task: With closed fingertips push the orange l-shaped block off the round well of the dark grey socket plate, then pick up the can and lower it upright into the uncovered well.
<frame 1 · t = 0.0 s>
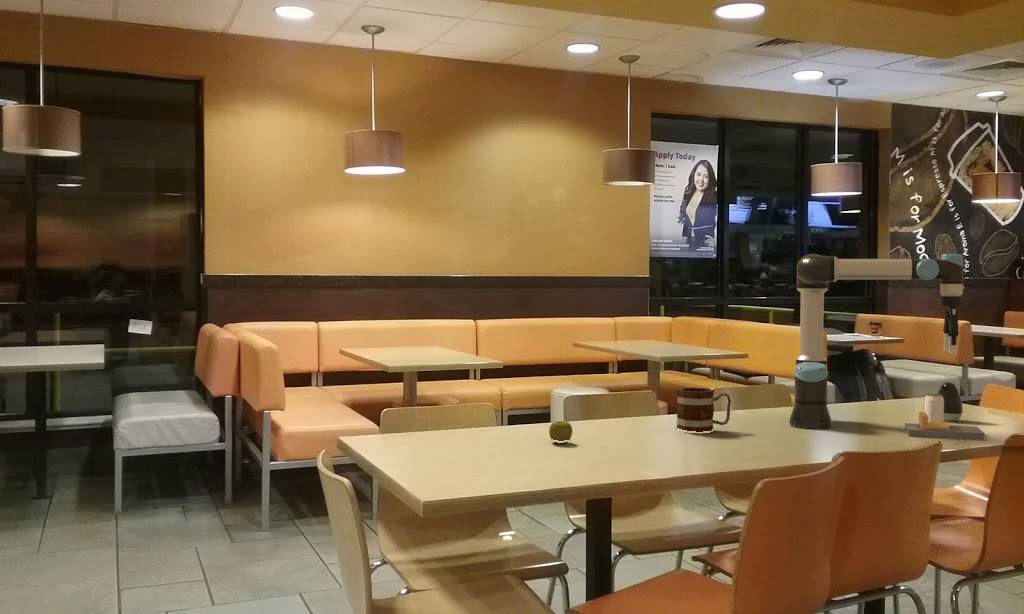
hand: (950, 352, 340), 28 cm above the table, fingers open, 13 cm apart
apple: (560, 443, 308), on the table
mug: (703, 431, 332), on the table
can: (933, 427, 342), on the table
socket plate: (943, 434, 325), on the table
black rounded upright piece: (947, 421, 356), on the table
orange l-shaped block: (934, 420, 325), point 5 cm above the table, slide at 0.0 cm
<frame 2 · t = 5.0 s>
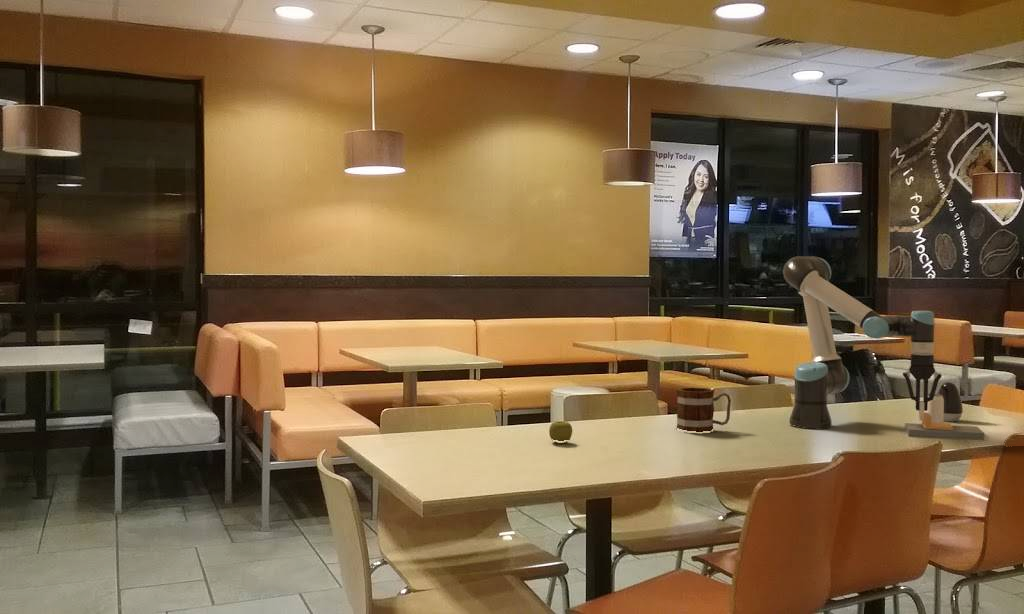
hand: (921, 419, 327), 5 cm above the table, fingers closed
orange l-shaped block: (937, 421, 325), point 5 cm above the table, slide at 1.0 cm, touching gripper
everything else where it was.
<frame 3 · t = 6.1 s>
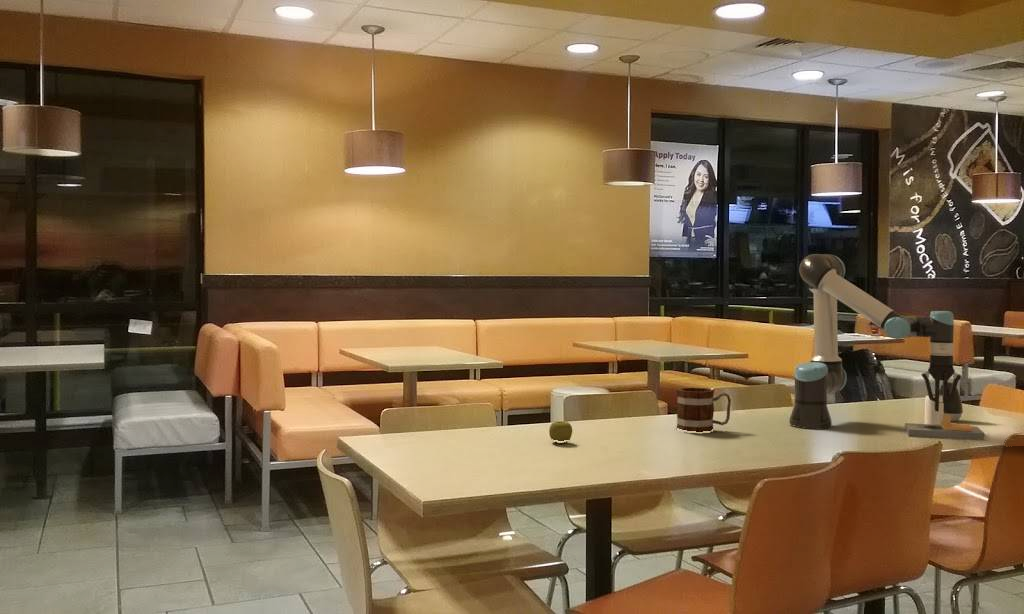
hand: (940, 420, 325), 5 cm above the table, fingers closed
orange l-shaped block: (956, 422, 323), point 5 cm above the table, slide at 7.2 cm, touching gripper
everything else where it was.
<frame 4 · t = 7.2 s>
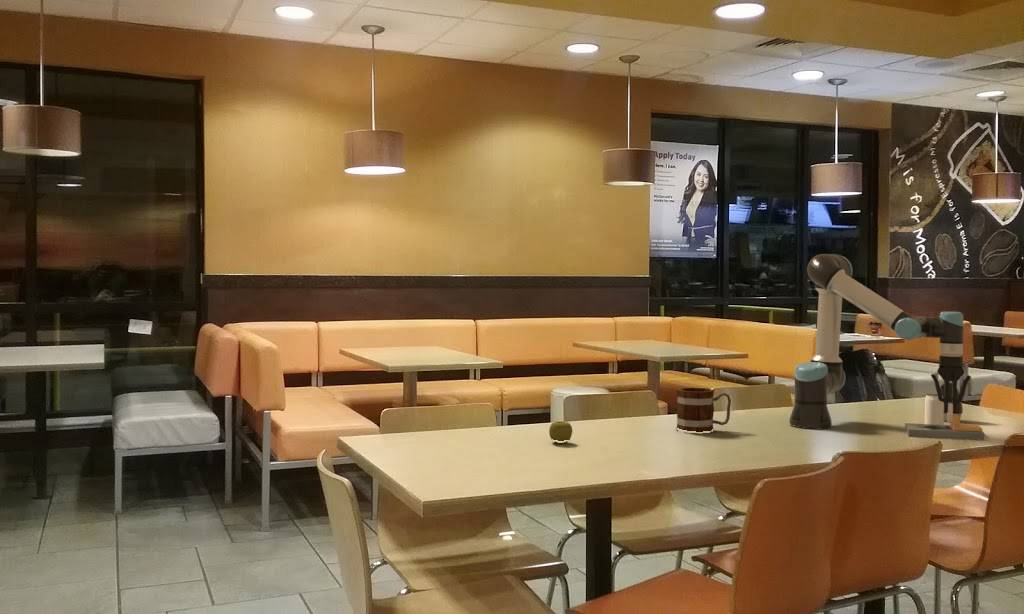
hand: (949, 421, 324), 5 cm above the table, fingers closed
orange l-shaped block: (965, 422, 322), point 5 cm above the table, slide at 10.2 cm, touching gripper
everything else where it was.
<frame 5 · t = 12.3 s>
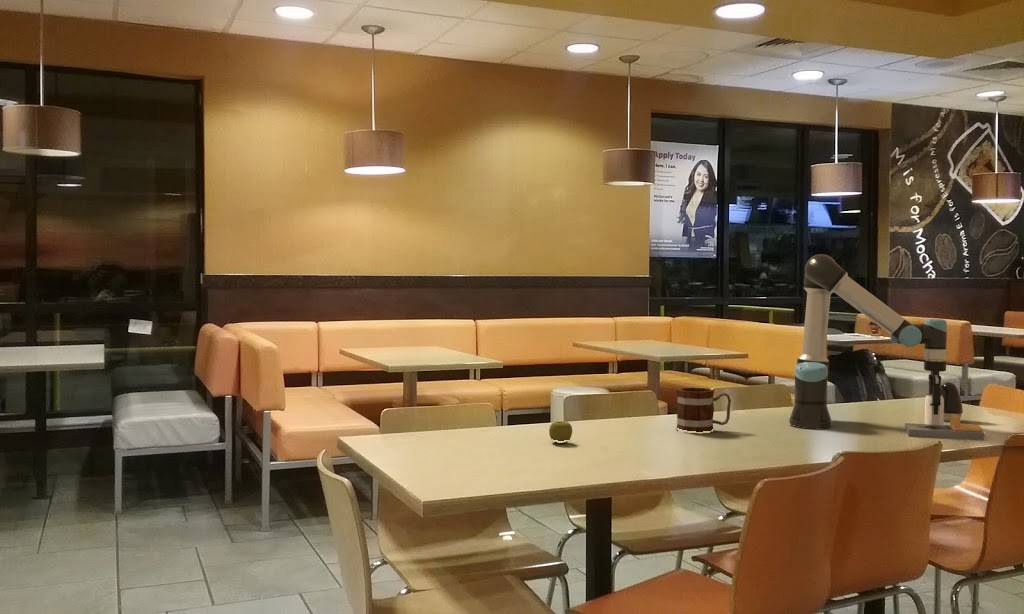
hand: (934, 421, 342), 2 cm above the table, fingers closed on can, 6 cm apart
can: (933, 427, 342), on the table, touching gripper
orange l-shaped block: (965, 422, 322), point 5 cm above the table, slide at 10.2 cm
everything else where it was.
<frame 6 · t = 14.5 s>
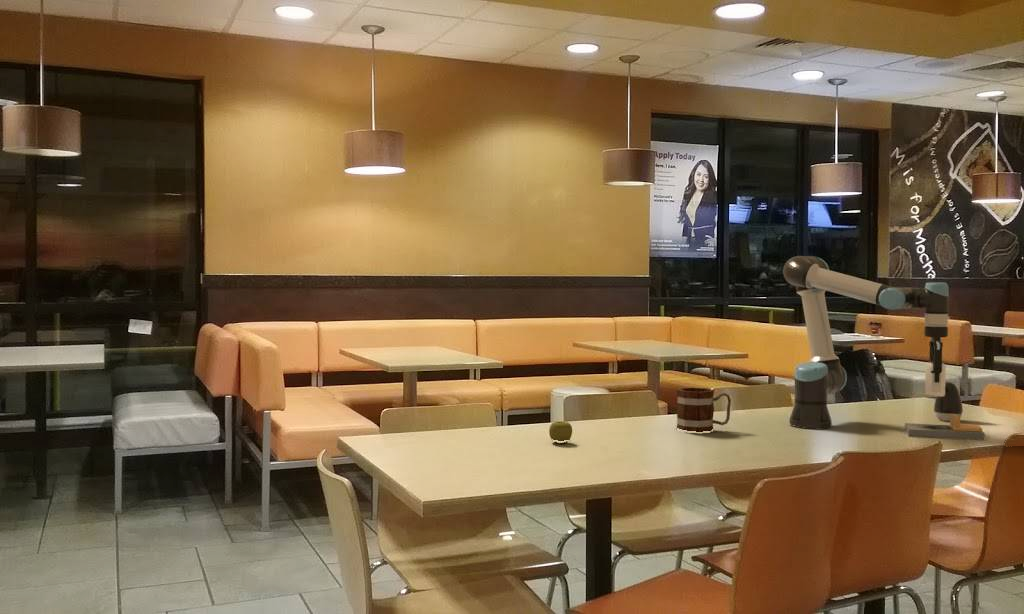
hand: (934, 390, 325), 16 cm above the table, fingers closed on can, 6 cm apart
can: (934, 396, 325), point 14 cm above the table, touching gripper
everything else where it was.
when the fingers open (3 cm above the table, at t = 17.2 s): can drops 1 cm, resting in socket plate.
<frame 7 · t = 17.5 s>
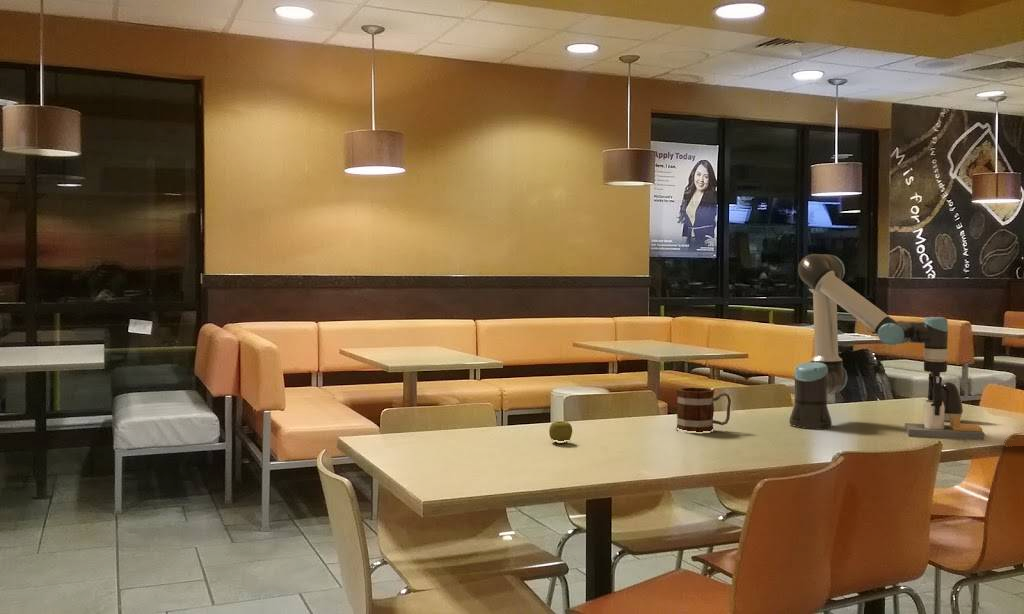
hand: (934, 421, 325), 4 cm above the table, fingers open, 11 cm apart
can: (933, 434, 326), resting in socket plate
everything else where it was.
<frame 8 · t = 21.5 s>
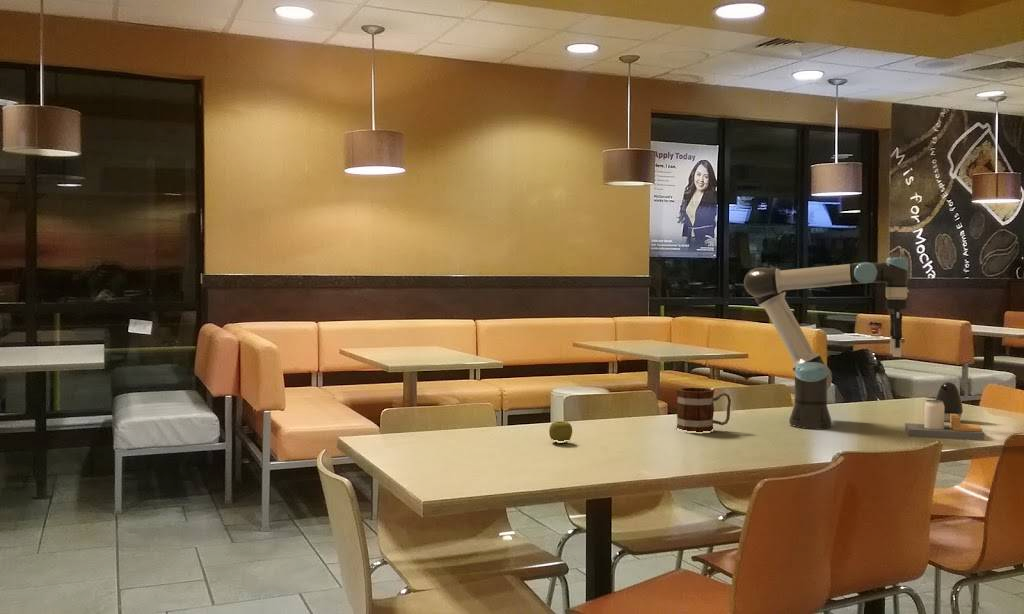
hand: (895, 355, 343), 27 cm above the table, fingers open, 13 cm apart
nothing on the table moved.
at the end: can 0.2 cm from the target spot in the socket plate, point 0.0 cm above the socket plate's base; can tilted 0°; orange l-shaped block slide at 10.2 cm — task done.
